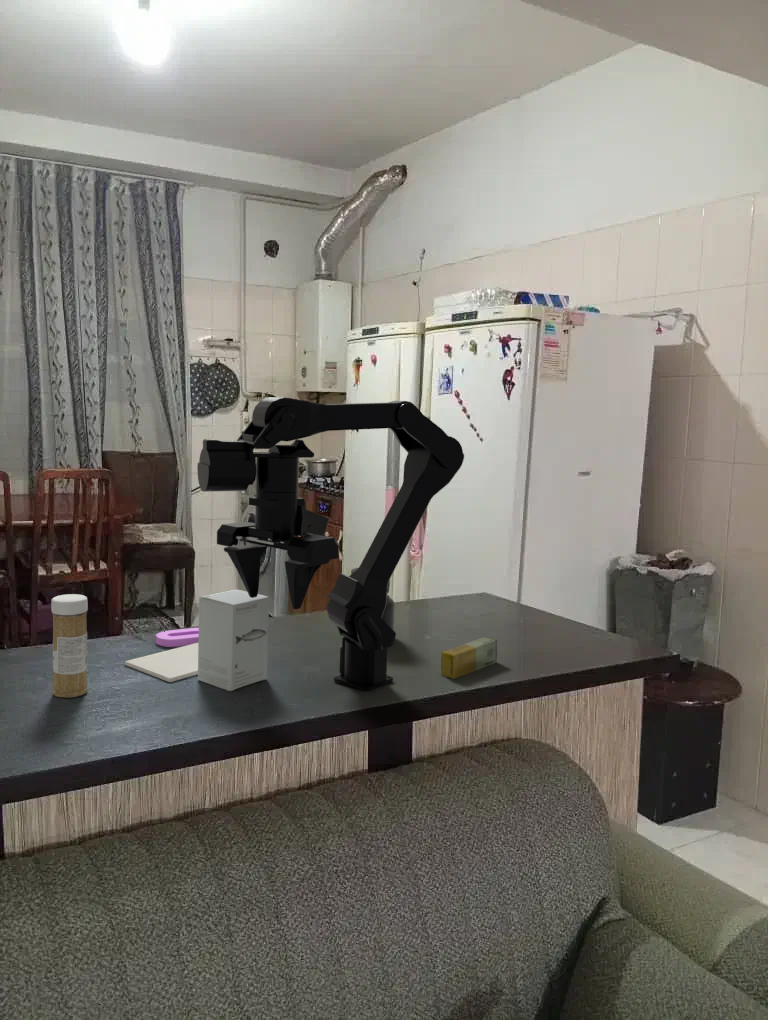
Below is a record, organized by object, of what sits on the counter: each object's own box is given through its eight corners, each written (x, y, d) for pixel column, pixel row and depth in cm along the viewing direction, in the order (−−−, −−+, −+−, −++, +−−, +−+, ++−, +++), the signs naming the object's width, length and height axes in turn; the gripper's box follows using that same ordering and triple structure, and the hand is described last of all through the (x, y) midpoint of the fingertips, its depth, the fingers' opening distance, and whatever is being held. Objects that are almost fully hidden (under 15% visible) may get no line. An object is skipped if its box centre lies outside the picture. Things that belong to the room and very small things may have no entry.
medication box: (483, 659, 134) (484, 635, 133) (497, 663, 132) (498, 639, 131) (439, 676, 125) (440, 651, 124) (454, 680, 123) (455, 654, 122)
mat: (243, 660, 127) (243, 657, 127) (169, 682, 117) (170, 678, 117) (198, 645, 134) (198, 642, 134) (125, 664, 123) (125, 661, 123)
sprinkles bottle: (58, 687, 113) (57, 592, 111) (92, 687, 113) (91, 593, 112) (48, 699, 108) (46, 600, 107) (83, 699, 109) (82, 601, 107)
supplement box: (231, 692, 114) (232, 604, 112) (196, 680, 118) (197, 595, 116) (269, 679, 119) (270, 595, 118) (234, 668, 124) (235, 587, 122)
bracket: (226, 632, 144) (227, 593, 143) (237, 640, 139) (238, 600, 138) (152, 640, 137) (152, 599, 136) (161, 649, 132) (161, 607, 131)
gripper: (367, 493, 110) (363, 605, 112) (273, 481, 122) (271, 583, 124) (310, 499, 102) (306, 620, 104) (214, 485, 114) (213, 594, 116)
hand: (274, 602), depth 112 cm, fingers open, 8 cm apart
